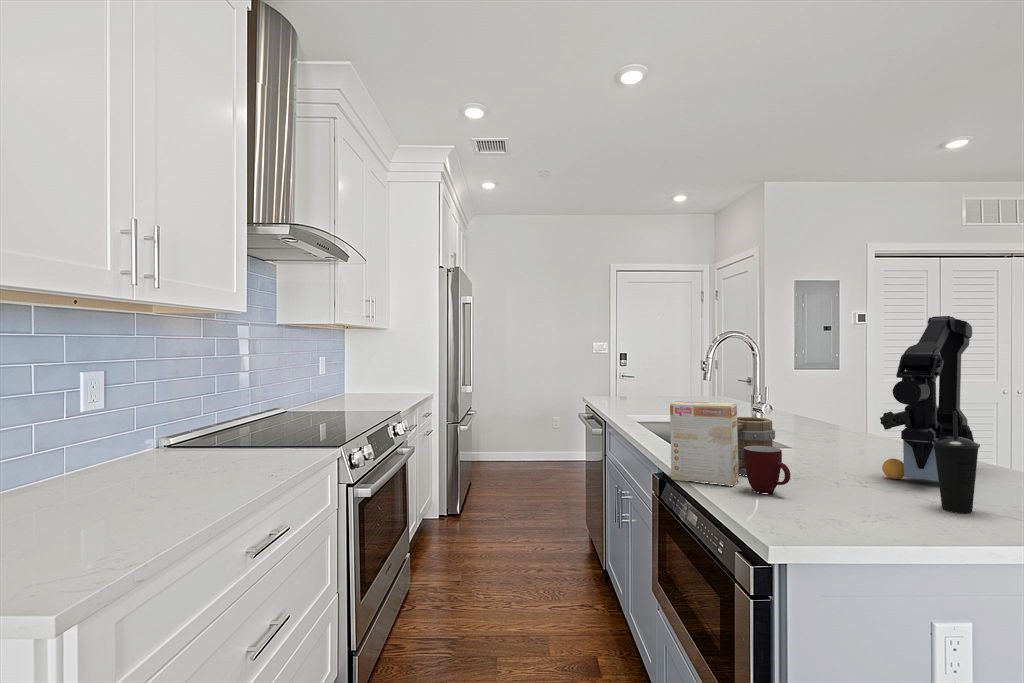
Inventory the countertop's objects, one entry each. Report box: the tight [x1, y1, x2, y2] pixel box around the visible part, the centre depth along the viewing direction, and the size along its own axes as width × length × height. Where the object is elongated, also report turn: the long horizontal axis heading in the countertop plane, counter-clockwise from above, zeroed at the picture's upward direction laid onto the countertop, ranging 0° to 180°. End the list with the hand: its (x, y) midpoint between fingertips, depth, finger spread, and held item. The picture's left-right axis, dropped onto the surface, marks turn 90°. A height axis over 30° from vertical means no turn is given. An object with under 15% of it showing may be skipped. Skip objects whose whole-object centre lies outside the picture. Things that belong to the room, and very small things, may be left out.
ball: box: [881, 458, 904, 480], centre depth 141 cm, size 5×5×5 cm
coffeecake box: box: [669, 400, 739, 486], centre depth 141 cm, size 15×7×20 cm, turn 57°
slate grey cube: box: [902, 438, 939, 482], centre depth 136 cm, size 8×8×9 cm
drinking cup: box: [932, 411, 981, 514], centre depth 114 cm, size 8×8×20 cm
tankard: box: [737, 416, 776, 476], centre depth 149 cm, size 20×13×15 cm, turn 123°
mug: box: [744, 446, 791, 494], centre depth 129 cm, size 11×8×10 cm
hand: (923, 465), depth 137 cm, fingers closed on slate grey cube, 7 cm apart
